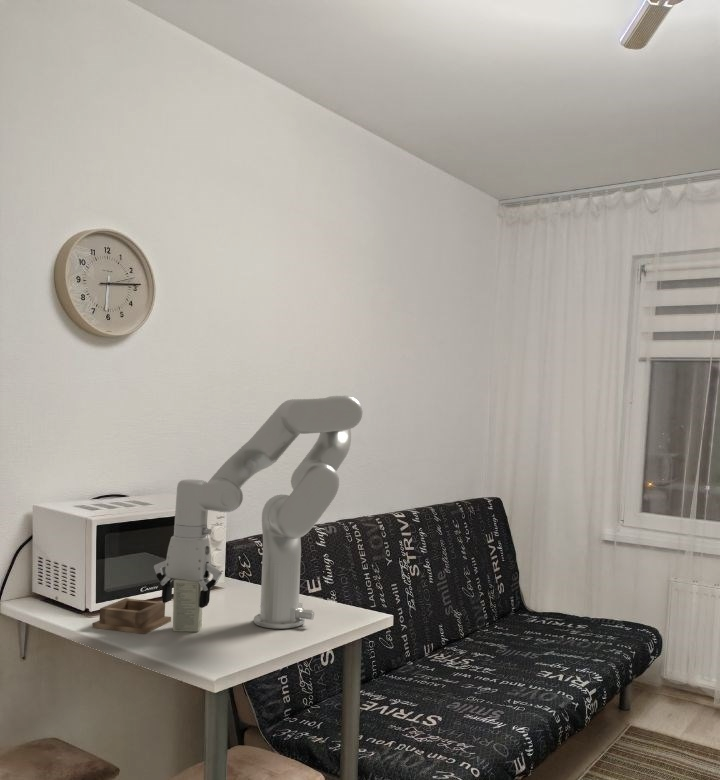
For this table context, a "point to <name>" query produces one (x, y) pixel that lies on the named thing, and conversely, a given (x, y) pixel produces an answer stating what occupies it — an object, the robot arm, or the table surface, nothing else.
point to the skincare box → (186, 606)
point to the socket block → (132, 616)
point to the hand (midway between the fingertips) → (185, 604)
